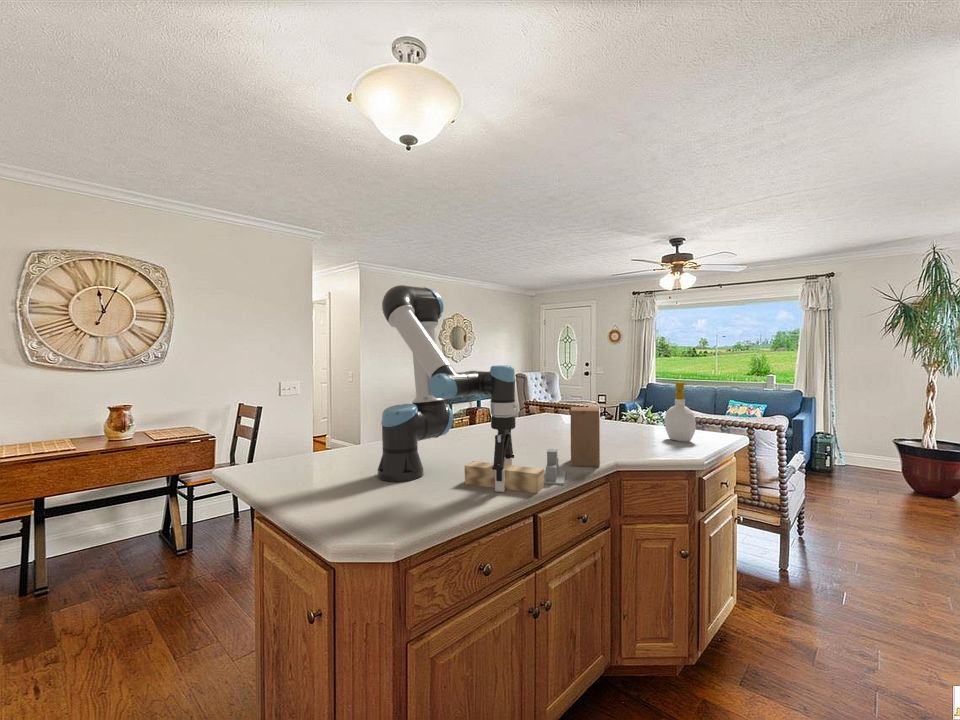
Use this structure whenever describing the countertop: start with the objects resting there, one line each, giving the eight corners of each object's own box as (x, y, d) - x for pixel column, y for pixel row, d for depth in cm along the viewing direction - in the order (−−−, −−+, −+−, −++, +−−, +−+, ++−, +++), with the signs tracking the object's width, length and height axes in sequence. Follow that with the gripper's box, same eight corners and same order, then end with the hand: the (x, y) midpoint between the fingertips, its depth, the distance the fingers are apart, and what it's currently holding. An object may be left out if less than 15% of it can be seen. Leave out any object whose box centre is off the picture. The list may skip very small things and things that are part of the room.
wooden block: (599, 467, 161) (599, 410, 161) (570, 466, 163) (570, 410, 163) (598, 460, 171) (598, 407, 170) (571, 459, 173) (570, 406, 172)
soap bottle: (701, 441, 201) (701, 382, 200) (689, 444, 196) (689, 383, 196) (672, 436, 213) (672, 380, 213) (660, 438, 209) (660, 381, 208)
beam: (464, 484, 144) (464, 465, 144) (473, 479, 149) (473, 461, 149) (537, 494, 134) (537, 473, 134) (544, 488, 139) (543, 468, 139)
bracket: (537, 483, 143) (537, 454, 143) (542, 471, 157) (542, 445, 156) (563, 484, 141) (563, 455, 141) (566, 472, 155) (565, 446, 155)
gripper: (508, 422, 128) (509, 498, 129) (521, 410, 152) (521, 474, 153) (482, 421, 130) (483, 496, 131) (498, 409, 154) (499, 473, 154)
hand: (504, 484), depth 142 cm, fingers open, 12 cm apart
